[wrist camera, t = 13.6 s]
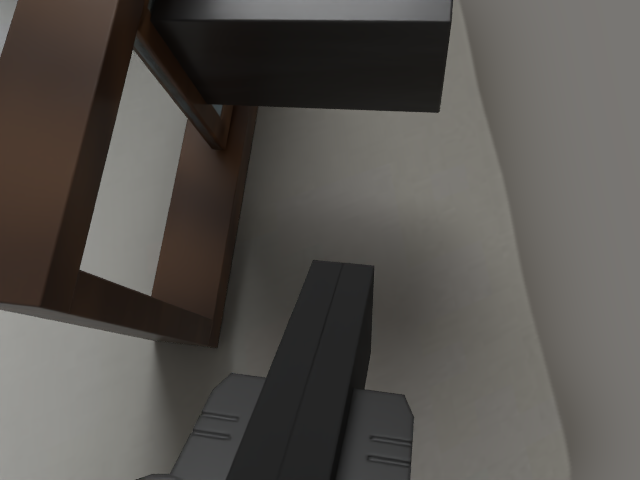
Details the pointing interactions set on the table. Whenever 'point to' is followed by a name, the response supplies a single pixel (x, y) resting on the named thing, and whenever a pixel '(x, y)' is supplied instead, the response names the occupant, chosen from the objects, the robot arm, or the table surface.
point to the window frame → (85, 176)
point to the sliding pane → (294, 55)
